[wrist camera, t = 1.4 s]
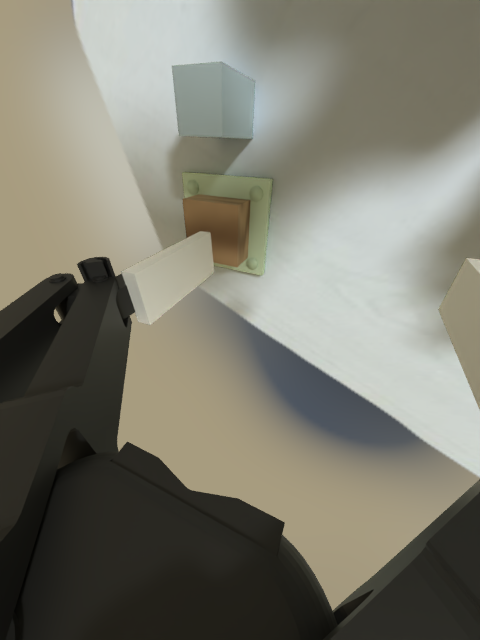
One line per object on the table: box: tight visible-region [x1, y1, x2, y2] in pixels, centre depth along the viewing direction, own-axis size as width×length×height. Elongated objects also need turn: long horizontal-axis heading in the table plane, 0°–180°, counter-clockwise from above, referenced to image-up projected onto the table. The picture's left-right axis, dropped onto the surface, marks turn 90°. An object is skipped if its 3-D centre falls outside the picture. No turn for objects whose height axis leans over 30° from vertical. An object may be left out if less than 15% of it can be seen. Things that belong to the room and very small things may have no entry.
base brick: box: [183, 194, 251, 267], centre depth 34 cm, size 8×8×4 cm
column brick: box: [172, 62, 255, 139], centre depth 25 cm, size 5×5×8 cm
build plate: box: [182, 172, 273, 276], centre depth 36 cm, size 13×13×1 cm
